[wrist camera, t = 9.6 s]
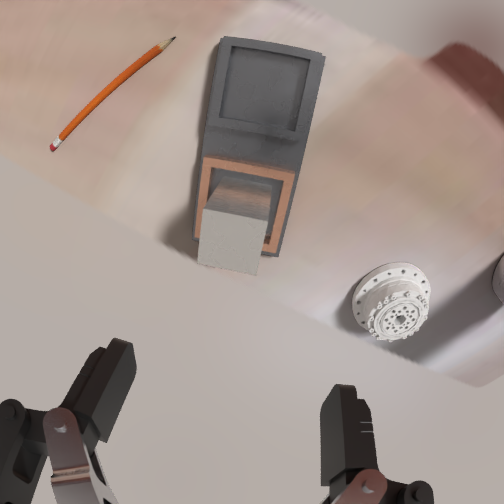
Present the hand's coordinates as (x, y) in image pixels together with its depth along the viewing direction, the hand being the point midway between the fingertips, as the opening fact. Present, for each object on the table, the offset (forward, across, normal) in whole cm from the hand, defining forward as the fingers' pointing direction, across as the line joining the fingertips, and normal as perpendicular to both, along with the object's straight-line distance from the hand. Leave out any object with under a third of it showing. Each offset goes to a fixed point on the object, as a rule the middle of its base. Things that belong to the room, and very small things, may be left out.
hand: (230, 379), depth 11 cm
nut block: (+20, +2, +1) cm, 20 cm away
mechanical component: (+22, -17, +9) cm, 29 cm away
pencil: (+21, +18, -8) cm, 29 cm away
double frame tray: (+21, +2, -4) cm, 21 cm away
